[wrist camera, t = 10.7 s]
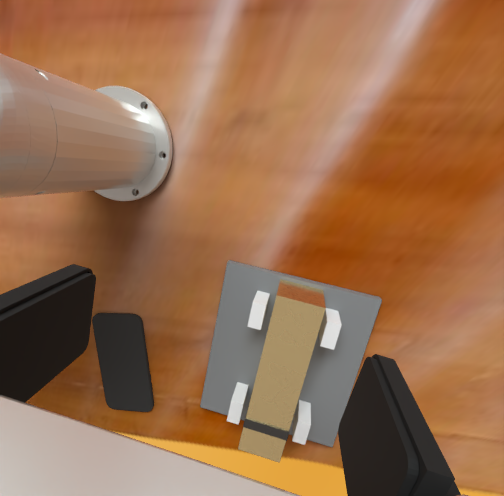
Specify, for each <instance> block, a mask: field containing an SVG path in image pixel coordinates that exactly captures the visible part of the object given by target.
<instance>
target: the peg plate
mask: <svg viewBox="0 0 504 496" xmlns="http://www.w3.org/2000/svg"><path fill="white" fill-rule="evenodd" d="M280 279H282V280H286V281H290V282H294V283H298V284H302V285H305V286H309V287H313V288H317V289H321V290H323V292H324V299H325V306H326V309H325V312H324V316H323V319H322V322H321V326H320V329H319V332H318V336H317V339H316V342H315V346H314V349H313V352H312V356H311V359H310V362H309V366H308V369H307V373H306V376H305V379H304V383H303V386H302V389H301V393H300V396H299V399H298V403H297V406H296V409H295V413H294V416H293V419H292V423H291V426H290V429H289V434H290V435H293V437H292V441H294V442H297V443H300V444H303V445H305V443H306V439H307V440H310V441H313V442H317V443H320V444H323V445H326V446H330V447H333V444H334V441H335V438H336V435H337V432H338V429H339V424H340V421H341V418H342V416H343V413H344V411H345V408H346V405H347V402H348V399H349V396H350V394H351V391H352V388H353V385H354V382H355V379H356V376H357V373H358V370H359V367H360V364H361V361H362V358H363V355H364V352H365V349H366V346H367V343H368V340H369V337H370V334H371V331H372V328H373V325H374V322H375V319H376V316H377V314H378V311H379V308H380V305H381V302H382V300H381V298H380V297H377V296H373V295H369V294H365V293H361V292H357V291H353V290H349V289H345V288H341V287H337V286H333V285H328V284H324V283H320V282H316V281H312V280H308V279H304V278H300V277H296V276H292V275H288V274H284V273H280V272H276V271H272V270H268V269H263V268H259V267H255V266H251V265H247V264H243V263H239V262H235V261H231V260H229V261H228V262H227V267H226V272H225V278H224V283H223V288H222V294H221V299H220V304H219V309H218V315H217V320H216V325H215V331H214V336H213V341H212V347H211V352H210V357H209V363H208V368H207V373H206V379H205V384H204V389H203V394H202V400H201V405H200V407H202V408H205V409H208V410H211V411H215V412H218V413H221V414H225V415H228V417H227V421H228V422H232V423H235V424H238V425H239V421H240V419H241V420H244V421H245V417H246V413H247V409H248V405H249V401H250V397H251V393H252V389H253V387H254V383H255V379H256V375H257V371H258V367H259V363H260V359H261V355H262V351H263V347H264V343H265V339H266V335H267V331H268V327H269V323H270V319H271V315H272V311H273V307H274V303H275V299H276V295H277V291H278V287H279V283H280Z"/></svg>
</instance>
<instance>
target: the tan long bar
mask: <svg viewBox="0 0 504 496" xmlns="http://www.w3.org/2000/svg"><path fill="white" fill-rule="evenodd" d="M325 309H326V306H325V299H324V292H323V290H321V289H317V288H313V287H309V286H305V285H302V284H298V283H294V282H290V281H286V280H282V279H280V283H279V287H278V291H277V295H276V299H275V303H274V307H273V311H272V315H271V319H270V323H269V327H268V331H267V335H266V339H265V343H264V347H263V351H262V355H261V359H260V363H259V367H258V371H257V375H256V379H255V383H254V387H253V389H252V393H251V397H250V401H249V405H248V409H247V413H246V417H245V421H244V425H243V431H242V435H241V439H240V443H239V447H238V449H239V450H242V451H245V452H248V453H251V454H255V455H258V456H261V457H264V458H267V459H270V460H273V461H276V462H280V459H281V456H282V453H283V449H284V446H285V443H286V441H287V438H288V435H289V429H290V426H291V423H292V419H293V416H294V413H295V409H296V406H297V403H298V399H299V396H300V393H301V389H302V386H303V383H304V379H305V376H306V373H307V369H308V366H309V362H310V359H311V356H312V352H313V349H314V346H315V342H316V339H317V336H318V332H319V329H320V326H321V322H322V319H323V316H324V312H325Z"/></svg>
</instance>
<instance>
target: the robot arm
mask: <svg viewBox="0 0 504 496" xmlns="http://www.w3.org/2000/svg"><path fill="white" fill-rule="evenodd" d="M147 105H148V107H147V109H146V106H147ZM164 154H166V157H164ZM172 155H173V149H172V138H171V132H170V130H169V127H168V124H167V121H166V120H165V118H164V116H163V114H162V113H161V111H160V110H159V109H158V108H157V106H156V105H155V104H154V103H153V102H152V101H151V100H149V99H148V98H147V97H146V96H144V95H142V94H141V93H139V92H137V91H135V90H132V89H130V88H127V87H122V86H106V87H102V88H99V89H97V90H92V89H89V88H87V87H84V86H82V85H79V84H77V83H74V82H72V81H69V80H66V79H64V78H61V77H59V76H56V75H54V74H51V73H49V72H46V71H43V70H41V69H38V68H36V67H33V66H31V65H28V64H26V63H23V62H20V61H18V60H15V59H13V58H10V57H8V56H5V55H3V54H0V198H4V197H18V196H31V195H43V194H56V193H68V192H81V191H93V190H94V191H95V192H96V193H98V194H100V195H101V196H103V197H105V198H108V199H111V200H116V201H132V200H137V199H141V198H143V197H146V196H148V195H149V194H151V193H152V192H154V191H155V190H156V189H157V188H158V187H159V186H160V185H161V184H162V182H163V181H164V179H165V177H166V176H167V174H168V171H169V168H170V166H171V160H172ZM138 191H139V194H138ZM95 283H96V277H95V275H94V274H93V273H92V270H91V269H88V268H85V267H82V266H78V265H75V264H73V265H70V266H67V267H65V268H63V269H60V270H58V271H56V272H53V273H51V274H49V275H46V276H44V277H41V278H39V279H37V280H34V281H32V282H30V283H27V284H25V285H23V286H20V287H18V288H15V289H13V290H11V291H8V292H6V293H4V294H1V295H0V496H299V495H296V494H294V493H291V492H288V491H285V490H282V489H279V488H277V487H274V486H271V485H268V484H265V483H262V482H259V481H256V480H253V479H250V478H247V477H244V476H242V475H238V474H236V473H233V472H230V471H227V470H224V469H221V468H218V467H215V466H213V465H210V464H207V463H204V462H201V461H198V460H195V459H192V458H189V457H186V456H183V455H180V454H177V453H174V452H171V451H168V450H165V449H162V448H159V447H156V446H153V445H150V444H148V443H145V442H141V441H138V440H136V439H132V438H130V437H127V436H124V435H121V434H118V433H115V432H112V431H109V430H106V429H103V428H100V427H97V426H94V425H91V424H88V423H85V422H82V421H79V420H76V419H73V418H70V417H67V416H64V415H61V414H57V413H54V412H51V411H48V410H45V409H42V408H39V407H36V406H33V405H30V404H27V403H25V402H26V401H27V400H29V399H30V398H31V397H32V396H33V395H34V394H36V393H37V392H38V391H39V390H40V389H41V388H43V387H44V386H45V385H46V384H47V383H48V382H50V381H51V380H52V379H53V378H54V377H55V376H57V375H58V374H59V373H60V372H61V371H62V370H64V369H65V368H66V367H67V366H68V365H69V364H71V363H72V362H73V361H74V360H75V359H76V358H78V357H79V356H80V355H81V354H82V353H83V352H84V351H85V350H86V348H87V345H88V342H89V334H90V325H91V317H92V308H93V300H94V291H95ZM338 436H339V442H340V449H341V455H342V462H343V468H344V474H345V481H346V488H347V494H348V496H468V495H461V494H460V492H459V490H458V488H457V486H456V484H455V482H454V480H455V478H454V476H453V474H452V472H451V470H450V468H449V466H448V464H447V462H446V460H445V458H444V456H443V454H442V452H441V450H440V448H439V447H438V445H437V443H436V441H435V439H434V437H433V435H432V433H431V431H430V429H429V427H428V425H427V423H426V421H425V419H424V417H423V415H422V413H421V411H420V409H419V407H418V405H417V403H416V401H415V399H414V397H413V395H412V393H411V391H410V389H409V387H408V386H407V384H406V382H405V380H404V378H403V376H402V374H401V372H400V370H399V368H398V366H397V364H396V362H395V361H394V360H393V359H390V358H387V357H384V356H380V355H377V354H375V355H373V356H372V358H371V357H367V358H366V360H365V362H364V364H363V367H362V369H361V371H360V374H359V376H358V379H357V381H356V384H355V386H354V389H353V391H352V394H351V396H350V398H349V401H348V403H347V406H346V408H345V411H344V413H343V416H342V418H341V421H340V424H339V429H338Z"/></svg>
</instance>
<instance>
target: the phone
mask: <svg viewBox="0 0 504 496" xmlns="http://www.w3.org/2000/svg"><path fill="white" fill-rule="evenodd" d="M92 322H93V329H94V334H95V340H96V346H97V352H98V358H99V363H100V369H101V375H102V381H103V387H104V392H105V398H106V403H107V405H108V406H109V407H110V408H112V409H117V410H128V411H140V412H149V411H151V410H152V408H153V406H154V399H153V392H152V383H151V375H150V371H149V363H148V356H147V349H146V342H145V335H144V328H143V322H142V319H141V318H140V317H139V316H138V315H136V314H120V313H98V314H96V315H95V316H94V317H93V319H92Z"/></svg>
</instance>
